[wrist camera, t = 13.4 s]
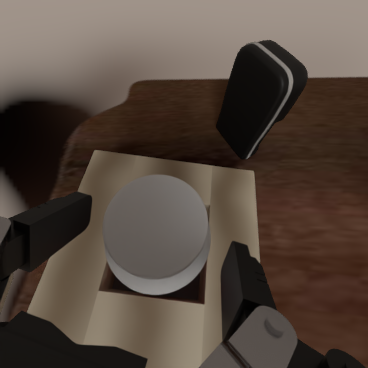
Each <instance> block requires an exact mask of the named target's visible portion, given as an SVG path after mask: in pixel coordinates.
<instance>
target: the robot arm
mask: <svg viewBox="0 0 368 368" xmlns="http://www.w3.org/2000/svg"><path fill="white" fill-rule="evenodd" d="M91 208H92V196H91V195H88V194H84V193H81V192H74V193H72V194H70V195H68V196H65V197H61V198H56V199H53V200H50V201H48V202H46V203H45V204H41V205H39V206H37V207H34V208H32V209H29V210H27V211H25V212H22V213H20V214H18V215H15V216H13V217H11V218H8V219H7V218H4V217H0V314H1V311H2V308H3V305H4V302H5V299H6V297H7V294H8V291H9V288H10V285H11V283H12V280H13V272H14V271H15V270H17V269H18V268H19V269H22V270H25V271H27V272H31V271H33V270H34V269H35V268H37V267H38V266H39V265H41V264H42V263H43V262H44V261H46V260H47V259H48V258H50V257H51V256H52V255H54V254H55V253H56V252H57V251H59V250H60V249H61V248H63V247H64V246H65V245H67V244H68V243H69V242H70V241H72V240H73V239H74V238H76V237H77V236H78V235H80V234H81V233H82V232H83V231H85V230H86V228H87V227H88V225H89V223H90V218H91ZM220 278H221V313H222V342H221V343H220V344H219V345H218V346H217V347H216V349H215V350H214V351H213V352H212V353H211V354H210V355H209V356H208V358H207V359H206V360H205V361H204V362H203V363H202V364H201V365H200V367H199V368H365V367H364V366H363V365H362V364H361V363H360V362H359V361H357V360H356V359H355V358H353V357H352V356H351V355H349V354H347V353H346V352H343V351H341V350H338V349H331V350H329V351H328V352H327V354H326V355H325V356H323V355H322V354H320V353H319V352H317V351H316V350H314V349H312V348H311V347H309V346H308V345H306V344H305V343H303V342H302V341H300V340H299V339H298V338H297V335H296V333H295V330H294V328H293V327H292V325H291V324H290V323H289V321H288V320H287V319H286V318H285V317H284V316H283V315H282V314H281V313H279V312H278V311H277V309H276V306H275V303H274V300H273V297H272V294H271V291H270V288H269V285H268V284H267V279H266V277H265V273H264V270H263V267H262V266H261V264H260V263H259V262H258V260H257V259H256V258H255V257H251V256H250V252H249V248H248V245H246V244H243V243H239V242H236V241H232V242H231V244H230V247H229V249H228V252H227V254H226V257H225V259H224V262H223V265H222V268H221V275H220ZM147 361H148V359H147V358H145V357H142V356H139V355H137V354H134V353H131V352H129V351H126V350H124V349H121V348H118V347H116V346H99V345H81V344H76V343H75V342H73V341H72V340H71V339H70V338H69V337H68V336H66V335H65V334H64V333H63V332H62V331H61V330H60V329H59V328H57V327H56V326H55V325H54V324H53V323H52V322H50V321H47V320H45V319H42V318H40V317H37V316H34V315H32V314H29V313H26V312H24V311H21V312H20V313H18V314H17V315H16V316H15V317H14V318H13V319H12V320H11V321H10V322H0V368H145V367H146V364H147Z"/></svg>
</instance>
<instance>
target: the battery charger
mask: <svg viewBox="0 0 368 368" xmlns="http://www.w3.org/2000/svg"><path fill="white" fill-rule="evenodd" d="M307 78H308V75H307V70H306V68H305V66H304V65H303V64H302V63H301V62H299V61H298V60H297V59H296V58H295V57H294V56H293V55H291V54H290V53H289V52H287V51H286V50H285V49H283V48H282V47H281V46H280V45H278V44H277V43H275V42H274V41H271V40H266V41H260V42H251V43H248V44H246V45H245V46H244V47H242V48H241V49H240V51H239V52H238V54H237V57H236V59H235V62H234V65H233V68H232V71H231V75H230V78H229V81H228V85H227V89H226V92H225V96H224V100H223V104H222V108H221V112H220V115H219V119H218V122H217V125H216V127H217V129H218V130H219V132H220V133H221V134H222V136H223V137H224V138H225V140H226V141H227V142H228V144H229V145H230V146H231V147H232V149H233V150H234V151H235V152H236V154H237V155H238V156H239V157H240V158H241V159H247V158H249V157H250V156H252V155H253V154H255V153H256V151H257V150H258V147H259V144H260V143H261V141H262V140H263V138H264V137H265V136H266V134H267V133H268V132H269V130H270V129H271V128H272V126H273V125H274V124H275V123H276V122H278V121H281V120H282V119H284V117H285V116H286V115H287V113H288V112H289V111H290V109H291V108H292V106H293V105H294V103H295V102H296V100H297V99H298V97H299V96H300V94H301V92H302V91H303V89H304V87H305V85H306V82H307Z"/></svg>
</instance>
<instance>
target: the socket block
mask: <svg viewBox="0 0 368 368" xmlns="http://www.w3.org/2000/svg"><path fill="white" fill-rule="evenodd" d="M148 175H168V176H172V177H176V178H178V179H180V180H182V181H184V182H186V183H187V184H189V185H190V186H191V187H192V188H193V189H194V190H195V191H196V192H197V193H198V194H199V196H200V197H201V199H202V201H203V203H204V205H205V208H206V211H207V215H208V222H209V226H210V231H211V245H210V251H209V254H208V258H207V260H206V262H205V264H204V266H203V268H202V269H201V271H200V272H199V273H198V275H197V276H196V277H195V278H194V279H193V280H192V281H191V282H190V283H188V284H187V285H186V286H184V287H182V288H180V289H178V290H176V291H174V292H171V293H167V294H161V295H149V294H143V293H139V292H137V291H134V290H132V289H130V288H128V287H127V286H126V285H124V284H123V283H122V282H121V281H120V280H119V279H118V278H117V277H116V276H115V275H114V273H113V272H112V270H111V268H110V266H109V264H108V262H107V259H106V255H105V248H104V239H103V231H102V228H103V219H104V215H105V212H106V209H107V207H108V205H109V203H110V201H111V200H112V198H113V197H114V196H115V194H116V193H117V192H118V191H119V190H120V189H121V188H123V187H124V186H125V185H127V184H128V183H130V182H131V181H133V180H135V179H138V178H140V177H144V176H148ZM77 192H81V193H84V194H88V195H91V196H92V208H91V218H90V223H89V225H88V227H87V228H86V230H85V231H83V232H82V233H81V234H80V235H78V236H77V237H76V238H74V239H73V240H72V241H70V242H69V243H68V244H67V245H65V246H64V247H63V248H61V249H60V250H59V251H57V252H56V253H55V254H54V255H52V256H51V257H50V258H49V261H48V263H47V266H46V268H45V270H44V273H43V275H42V278H41V280H40V282H39V285H38V287H37V290H36V292H35V294H34V297H33V299H32V301H31V304H30V306H29V309H28V311H27V313H29V314H32V315H34V316H37V317H40V318H42V319H45V320H47V321H50V322H52V323H53V324H54V325H55V326H56V327H57V328H59V329H60V330H61V331H62V332H63V333H64V334H65V335H66V336H68V337H69V338H70V339H71V340H72V341H73V342H75V343H76V344H81V345H99V346H116V347H118V348H121V349H124V350H126V351H129V352H131V353H134V354H137V355H139V356H142V357H145V358H147V359H148V361H147V364H146V367H145V368H199V367H200V365H201V364H202V363H203V362H204V361H205V360H206V359H207V358H208V356H209V355H210V354H211V353H212V352H213V351H214V350H215V349H216V347H217V346H218V345H219V344H220V343H221V342H222V313H221V278H220V275H221V268H222V265H223V262H224V259H225V257H226V254H227V252H228V249H229V247H230V244H231V242H232V241H236V242H239V243H243V244H246V245H248V248H249V252H250V256H251V257H255V258H256V259H257V260H258V262H259V263H260V256H259V240H258V225H257V210H256V194H255V179H254V171H248V170H241V169H233V168H226V167H219V166H211V165H204V164H196V163H189V162H181V161H174V160H166V159H159V158H151V157H144V156H136V155H129V154H122V153H114V152H107V151H99V150H95V151H94V153H93V156H92V158H91V160H90V163H89V165H88V167H87V170H86V172H85V175H84V177H83V179H82V182H81V184H80V187H79V189H78V191H77Z"/></svg>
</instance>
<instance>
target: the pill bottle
mask: <svg viewBox="0 0 368 368" xmlns="http://www.w3.org/2000/svg"><path fill="white" fill-rule="evenodd" d="M102 231H103V239H104V248H105V255H106V259H107V262H108V264H109V266H110V268H111V270H112V272H113V273H114V275H115V276H116V277H117V278H118V279H119V280H120V281H121V282H122V283H123V284H124V285H126V286H127V287H128V288H130V289H132V290H134V291H137V292H139V293H143V294H149V295H161V294H167V293H171V292H174V291H176V290H178V289H180V288H182V287H184V286H186V285H187V284H188V283H190V282H191V281H192V280H193V279H194V278H195V277H196V276H197V275H198V273H199V272H200V271H201V269H202V268H203V266H204V264H205V262H206V260H207V258H208V254H209V251H210V245H211V231H210V226H209V222H208V215H207V211H206V208H205V205H204V203H203V201H202V199H201V197H200V196H199V194H198V193H197V192H196V191H195V190H194V189H193V188H192V187H191V186H190V185H189V184H187V183H186V182H184V181H182V180H180V179H178V178H176V177H172V176H168V175H148V176H144V177H140V178H138V179H135V180H133V181H131V182H130V183H128V184H127V185H125V186H124V187H123V188H121V189H120V190H119V191H118V192H117V193H116V194H115V196H114V197H113V198H112V200H111V201H110V203H109V205H108V207H107V209H106V212H105V215H104V219H103V228H102Z"/></svg>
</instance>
